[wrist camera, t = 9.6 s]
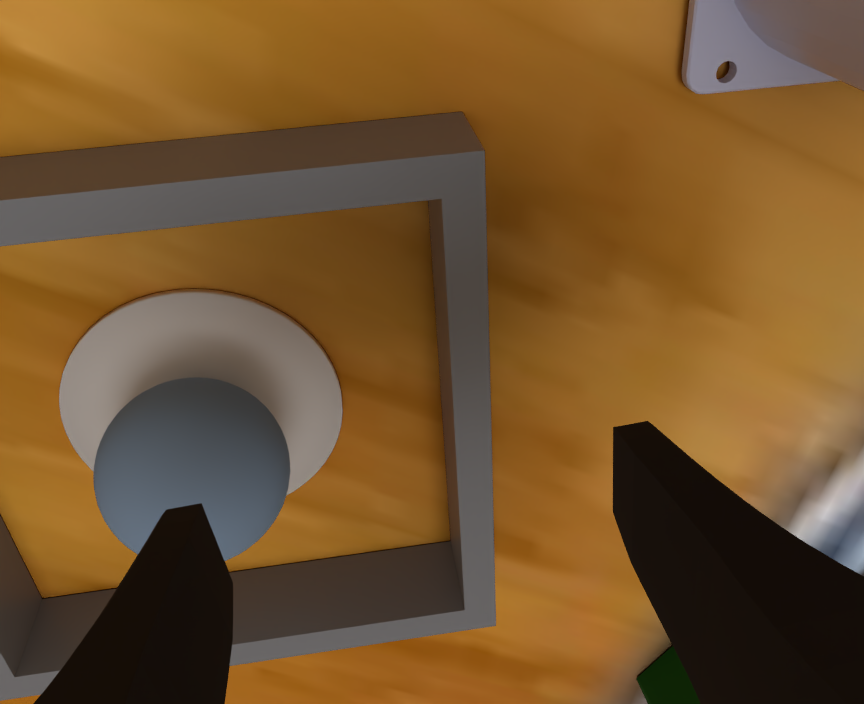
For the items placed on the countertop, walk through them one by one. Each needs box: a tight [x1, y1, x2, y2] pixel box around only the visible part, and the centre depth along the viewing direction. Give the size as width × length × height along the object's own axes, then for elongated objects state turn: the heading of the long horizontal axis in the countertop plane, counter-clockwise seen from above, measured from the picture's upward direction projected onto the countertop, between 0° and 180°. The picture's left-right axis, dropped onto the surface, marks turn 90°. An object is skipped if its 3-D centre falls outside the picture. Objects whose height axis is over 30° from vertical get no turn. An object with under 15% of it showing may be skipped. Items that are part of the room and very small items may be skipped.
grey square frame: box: [0, 112, 496, 701], centre depth 22 cm, size 16×16×3 cm
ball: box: [94, 377, 290, 561], centre depth 21 cm, size 5×5×5 cm
